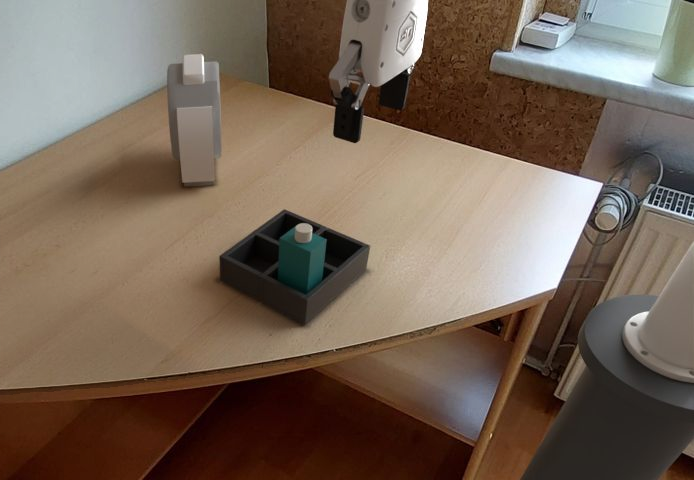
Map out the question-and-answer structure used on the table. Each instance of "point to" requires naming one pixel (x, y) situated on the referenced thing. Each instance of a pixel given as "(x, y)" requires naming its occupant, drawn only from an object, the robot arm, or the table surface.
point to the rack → (262, 267)
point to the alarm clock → (195, 118)
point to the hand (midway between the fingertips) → (369, 122)
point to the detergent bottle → (301, 258)
